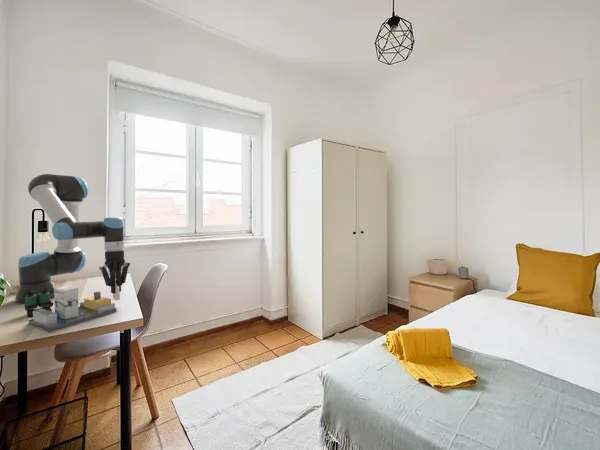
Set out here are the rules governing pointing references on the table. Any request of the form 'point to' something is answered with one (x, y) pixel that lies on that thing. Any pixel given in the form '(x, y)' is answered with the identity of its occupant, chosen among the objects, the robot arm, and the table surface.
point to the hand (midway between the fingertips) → (116, 299)
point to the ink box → (66, 301)
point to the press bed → (52, 322)
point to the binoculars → (37, 301)
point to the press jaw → (96, 301)
